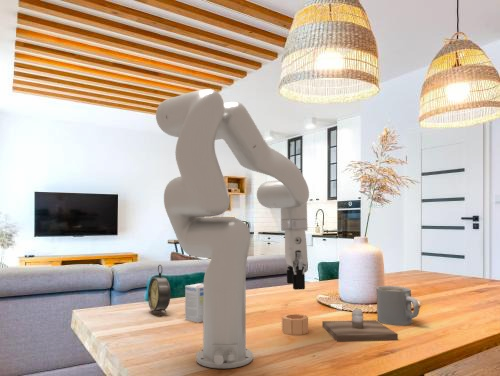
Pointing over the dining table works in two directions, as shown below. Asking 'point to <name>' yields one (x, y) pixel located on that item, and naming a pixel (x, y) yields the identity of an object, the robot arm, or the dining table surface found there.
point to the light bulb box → (194, 302)
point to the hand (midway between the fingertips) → (295, 286)
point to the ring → (294, 324)
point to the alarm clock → (159, 293)
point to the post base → (358, 329)
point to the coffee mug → (395, 305)
